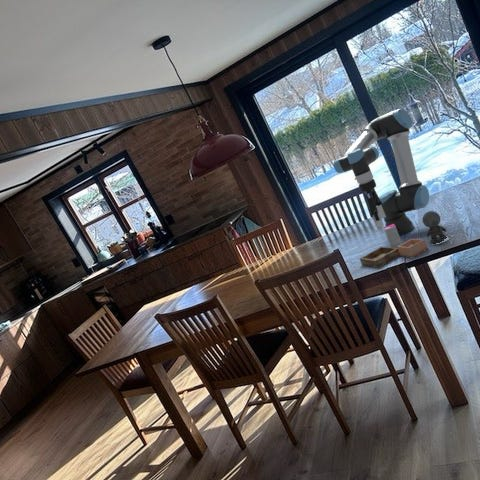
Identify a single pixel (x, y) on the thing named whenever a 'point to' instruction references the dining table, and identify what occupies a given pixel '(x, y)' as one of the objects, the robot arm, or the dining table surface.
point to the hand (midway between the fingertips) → (382, 222)
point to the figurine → (434, 227)
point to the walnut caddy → (380, 256)
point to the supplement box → (392, 236)
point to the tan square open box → (412, 248)
